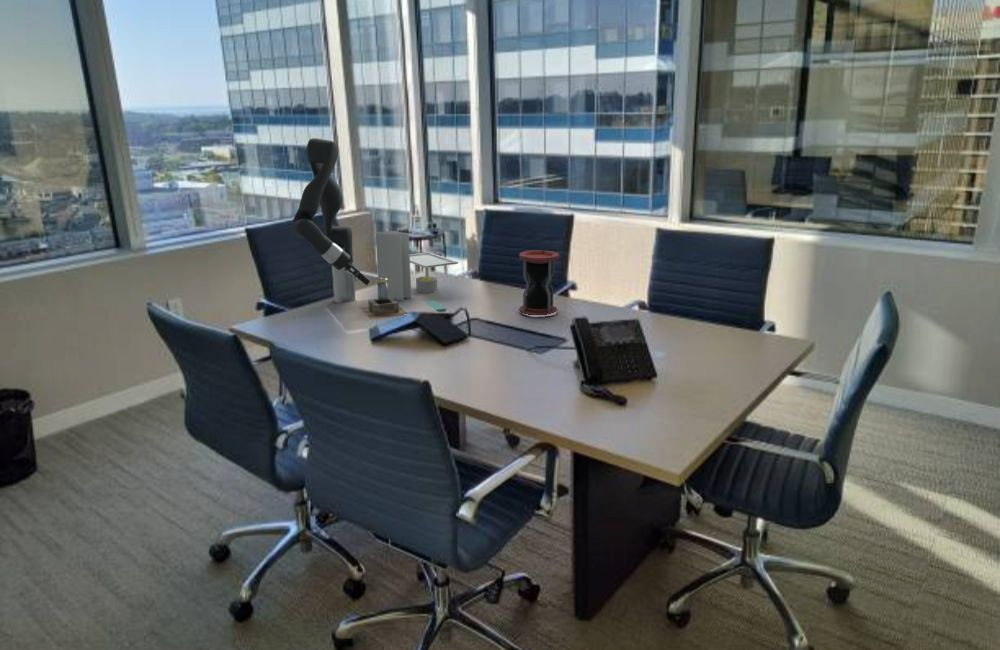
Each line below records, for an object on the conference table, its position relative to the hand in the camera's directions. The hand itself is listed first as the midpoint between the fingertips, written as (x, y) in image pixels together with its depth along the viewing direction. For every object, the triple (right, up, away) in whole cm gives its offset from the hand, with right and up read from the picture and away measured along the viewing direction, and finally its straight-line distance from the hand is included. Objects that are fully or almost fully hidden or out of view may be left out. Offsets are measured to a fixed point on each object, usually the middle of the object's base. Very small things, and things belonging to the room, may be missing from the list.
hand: (365, 281), depth 279 cm
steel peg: (+6, -12, +7) cm, 15 cm away
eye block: (+6, -13, +7) cm, 16 cm away
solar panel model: (+21, -1, +45) cm, 50 cm away
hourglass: (+71, -13, +9) cm, 72 cm away
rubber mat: (+23, -11, +15) cm, 30 cm away
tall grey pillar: (+8, -6, +29) cm, 31 cm away
